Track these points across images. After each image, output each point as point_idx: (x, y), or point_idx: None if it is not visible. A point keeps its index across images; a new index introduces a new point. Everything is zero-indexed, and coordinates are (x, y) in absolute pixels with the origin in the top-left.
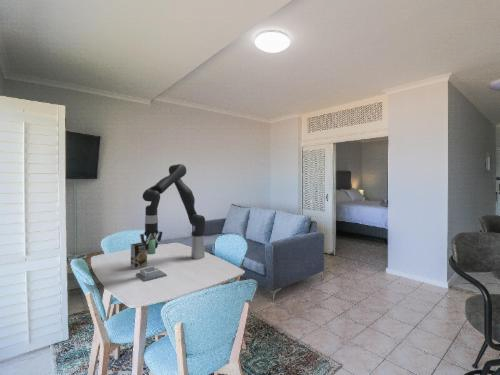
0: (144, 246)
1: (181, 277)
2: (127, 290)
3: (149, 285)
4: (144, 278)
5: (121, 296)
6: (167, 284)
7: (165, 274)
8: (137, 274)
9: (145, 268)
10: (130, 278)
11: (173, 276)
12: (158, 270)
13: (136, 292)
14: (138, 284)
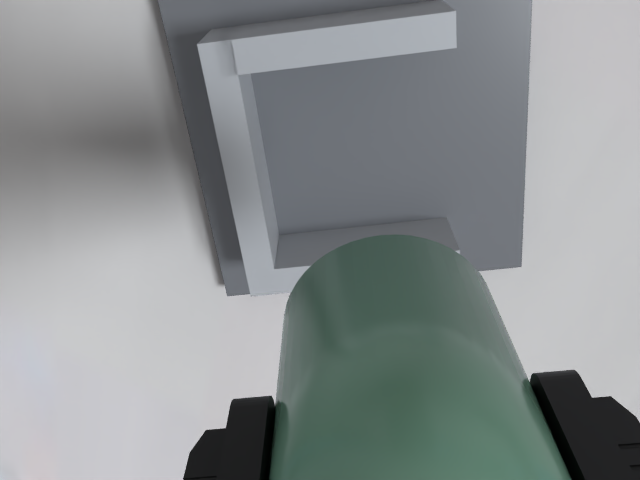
0: None
1: (621, 374)
2: (48, 399)
3: (257, 396)
4: (236, 255)
5: (3, 474)
6: None
7: (506, 263)
8: (171, 57)
9: (290, 67)
10: (77, 92)
11: (570, 308)
12: None
13: (125, 466)
14: (159, 324)
